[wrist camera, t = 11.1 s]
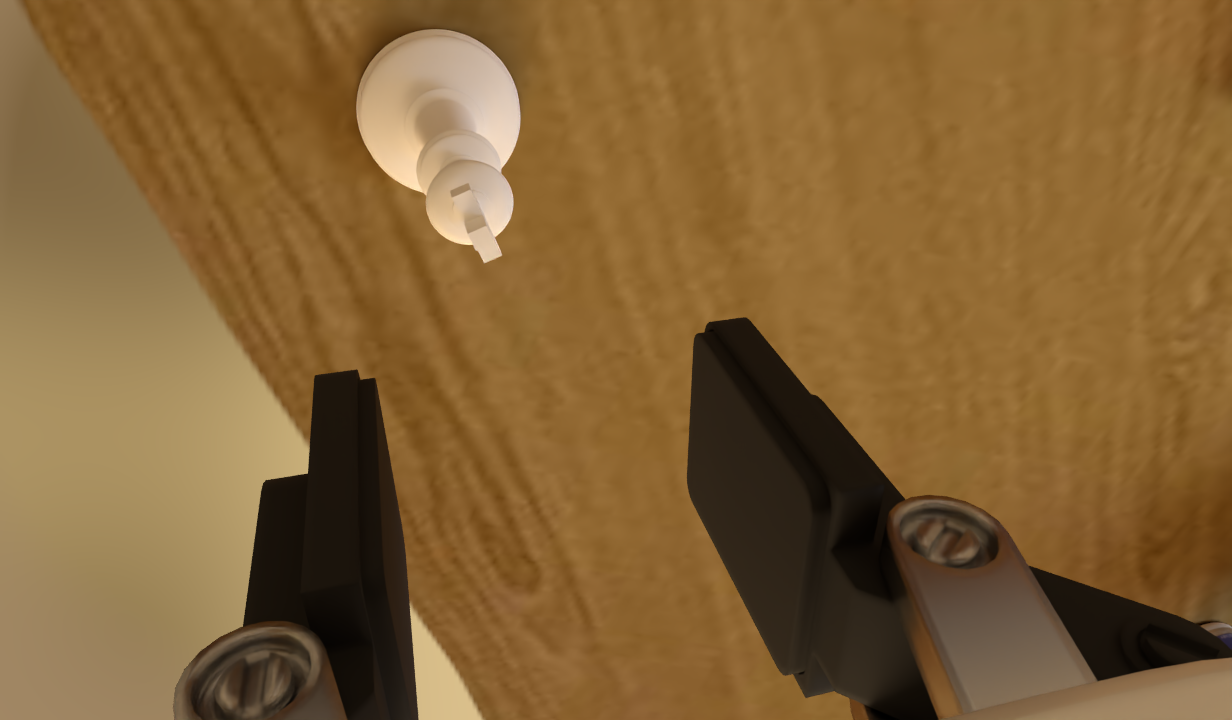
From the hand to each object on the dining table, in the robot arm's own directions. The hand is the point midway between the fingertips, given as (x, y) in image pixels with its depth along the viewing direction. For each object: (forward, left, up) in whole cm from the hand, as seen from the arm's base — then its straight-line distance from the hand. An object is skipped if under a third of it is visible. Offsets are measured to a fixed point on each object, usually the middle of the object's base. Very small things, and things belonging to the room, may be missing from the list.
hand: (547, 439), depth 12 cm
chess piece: (0, 0, -18) cm, 18 cm away
